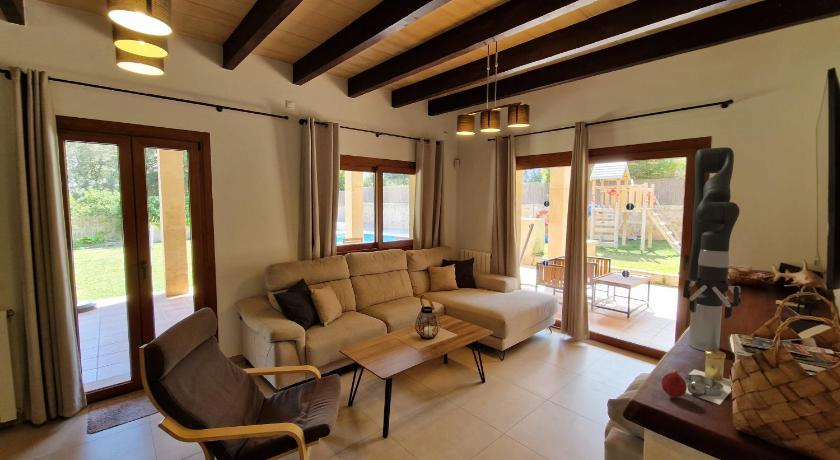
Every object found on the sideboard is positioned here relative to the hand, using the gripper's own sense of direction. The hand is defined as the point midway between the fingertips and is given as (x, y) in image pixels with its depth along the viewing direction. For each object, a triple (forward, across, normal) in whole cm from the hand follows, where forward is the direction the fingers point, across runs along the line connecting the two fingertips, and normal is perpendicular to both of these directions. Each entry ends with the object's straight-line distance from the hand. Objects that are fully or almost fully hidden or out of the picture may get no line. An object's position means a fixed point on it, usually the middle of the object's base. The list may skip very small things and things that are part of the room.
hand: (709, 315), depth 116 cm
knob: (+18, -3, +3) cm, 19 cm away
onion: (+21, +1, +25) cm, 32 cm away
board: (+20, -3, +11) cm, 23 cm away
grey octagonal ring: (+19, -3, +15) cm, 25 cm away
